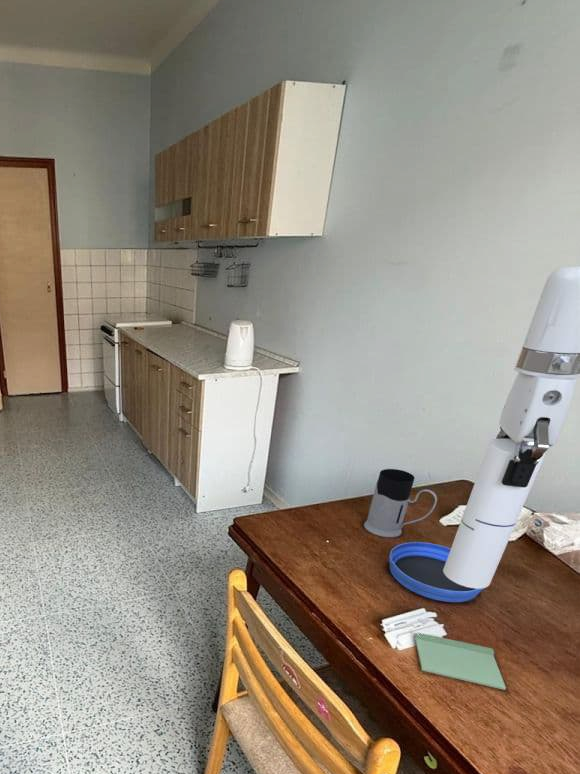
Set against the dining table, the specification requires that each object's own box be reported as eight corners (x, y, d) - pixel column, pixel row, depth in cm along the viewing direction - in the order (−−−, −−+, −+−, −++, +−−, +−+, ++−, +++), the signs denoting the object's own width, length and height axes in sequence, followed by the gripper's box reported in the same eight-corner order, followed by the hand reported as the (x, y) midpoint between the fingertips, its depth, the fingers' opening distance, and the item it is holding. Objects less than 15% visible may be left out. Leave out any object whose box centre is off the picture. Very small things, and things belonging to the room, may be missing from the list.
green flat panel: (490, 651, 84) (492, 647, 83) (505, 690, 76) (507, 686, 76) (414, 634, 88) (415, 630, 87) (421, 670, 80) (423, 666, 80)
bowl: (368, 565, 107) (371, 552, 105) (426, 548, 113) (430, 535, 111) (439, 614, 92) (444, 600, 91) (502, 592, 98) (508, 578, 96)
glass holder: (374, 516, 126) (387, 464, 119) (430, 537, 117) (448, 483, 110) (357, 527, 122) (370, 474, 115) (414, 550, 112) (432, 494, 105)
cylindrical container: (479, 593, 81) (536, 459, 69) (435, 574, 86) (481, 445, 74) (496, 578, 84) (553, 447, 72) (453, 560, 89) (500, 435, 78)
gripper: (613, 378, 59) (555, 503, 67) (558, 352, 73) (516, 458, 81) (540, 374, 61) (493, 495, 70) (501, 350, 76) (466, 453, 84)
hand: (506, 474), depth 76 cm, fingers closed on cylindrical container, 7 cm apart
